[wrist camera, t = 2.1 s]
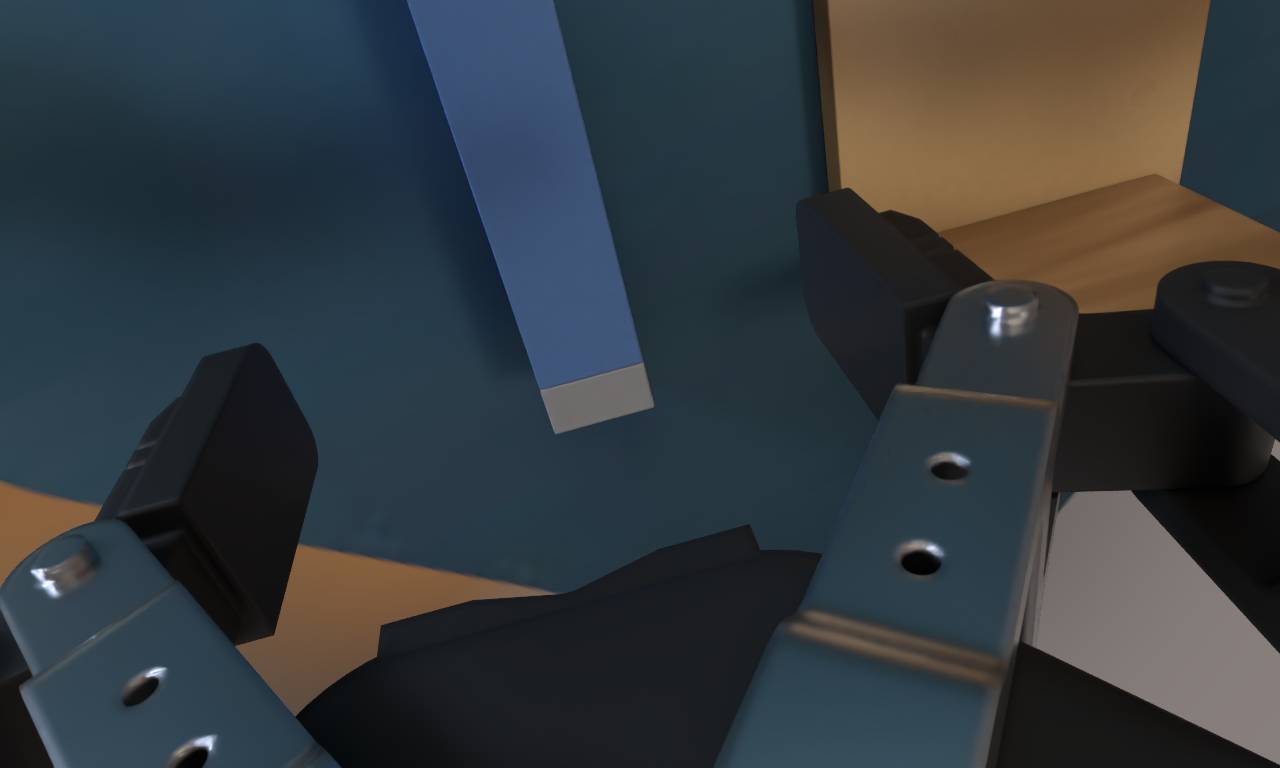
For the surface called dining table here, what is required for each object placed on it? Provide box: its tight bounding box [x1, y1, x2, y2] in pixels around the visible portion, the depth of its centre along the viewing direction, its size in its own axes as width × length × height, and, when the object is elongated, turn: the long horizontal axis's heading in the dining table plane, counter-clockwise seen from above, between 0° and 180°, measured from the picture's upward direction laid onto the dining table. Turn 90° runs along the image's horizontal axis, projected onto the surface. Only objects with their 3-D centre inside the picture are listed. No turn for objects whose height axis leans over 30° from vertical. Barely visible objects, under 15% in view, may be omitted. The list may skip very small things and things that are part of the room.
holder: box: [813, 0, 1280, 313], centre depth 19 cm, size 20×11×11 cm, turn 12°
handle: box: [407, 0, 654, 434], centre depth 21 cm, size 17×3×4 cm, turn 12°
